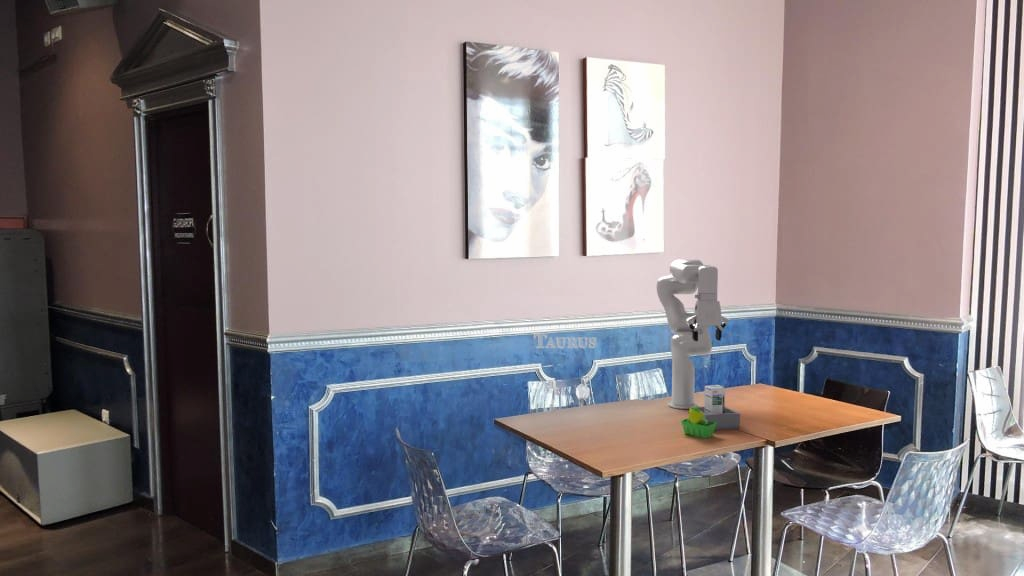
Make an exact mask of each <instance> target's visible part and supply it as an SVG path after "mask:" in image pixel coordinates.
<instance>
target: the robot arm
mask: <svg viewBox="0 0 1024 576" xmlns="http://www.w3.org/2000/svg"><path fill="white" fill-rule="evenodd" d="M669 273H670V275H665V276H664V275H663V276H662V277H660V278H658V280H657V281H656V292H657V296H658V299H659V302H660V303H661V305H662V307H663V309H664V312H665V316H666V319H667V323H668V327H669V330H670V332H671V333H672V334H674V335H673V336H672V337H671V338H670V342H669V343H670V344H669V345H670V352H671V400H670V401H668V403H667V406H668V407H669V408H673V409H681V410H690V407H694V406H696V407H699V406H698V405H699V403H697V402H695V382H696V381H695V373H696V371H695V370H696V369H695V367H696V366H695V364H694V362H693V361H692V359H691V358H690V356H707V355H709V354H710V353H711V352H712V350H713V346H712V344H713V343H712V337H711V335H710V331H709V329H708V328H709V327H715V328H716V329H715V340H716V341H718V342H719V341H721V340H722V331H723V330H724V328H725V327H726V325H727V323H728V322H729V318H727V317H725V316H723V315H722V308H721V303H720V301H719V300H718V286H719V285H718V284H719V283H718V280H719V279H718V276H719V275H718V273H719V270H718V268H717V267H716V266H712V265H710V264H703V262H702V261H701V260H700V259H691V258H690V259H676V260H673V262H672V263H670V265H669ZM696 292H697V294H695V293H696ZM692 294H695V295H694V298H695V299H696V302H695V305H694V312H686V308H685V306H684V304H683V302H682V301H681V299H679V298H678V297H677V296H675V295H692Z"/></svg>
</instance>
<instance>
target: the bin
mask: <svg viewBox="0 0 1024 576" xmlns="http://www.w3.org/2000/svg"><path fill="white" fill-rule="evenodd" d="M691 408H692V407H690V409H691ZM697 408H698V409H699V410H700V411H701V412H702V413H703V414H704V416H703V420H705V419H706V420H707V421H712V422H716V423H717V424H716V426H715V429H714V431H724V430H739V429H741V425H740V423H741V421H740V420H741V413H740V412H738V411H736V410H734V409H731V408H729V407H727V406H725V414H705V406H698V407H697ZM690 409H689V410H690Z"/></svg>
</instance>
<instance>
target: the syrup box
mask: <svg viewBox="0 0 1024 576" xmlns="http://www.w3.org/2000/svg"><path fill="white" fill-rule="evenodd" d="M725 390H726V389H725V387H724V386H723V385H721V384H720V385H719V384H714V385H704V407H705V414H725V407H726V405H725V404H726V403H725V402H726V401H725V399H726V397H725V396H726V394H725V393H726V391H725Z"/></svg>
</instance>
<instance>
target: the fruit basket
mask: <svg viewBox="0 0 1024 576" xmlns="http://www.w3.org/2000/svg"><path fill="white" fill-rule="evenodd" d="M688 410H689V411H688V418H685V419H681V420H680V423H681V424H682V428H683V432H684V434H685V435H688V434H690V435H689V436H692V435H694V436H693V437H697V436H698V437H697V438H703V439H707V437H708V438H710V437H713V436H714V435H713V434H714V432H715V430H714V429H715V426H716V424H717V423H716V422H712V421H707V420H706V419H705V420H703V416H704V414H703V413H702V412H701V411H700V410H699V409H698V408H697V407H696V406H694V407H692V408H691V409H688Z"/></svg>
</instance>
